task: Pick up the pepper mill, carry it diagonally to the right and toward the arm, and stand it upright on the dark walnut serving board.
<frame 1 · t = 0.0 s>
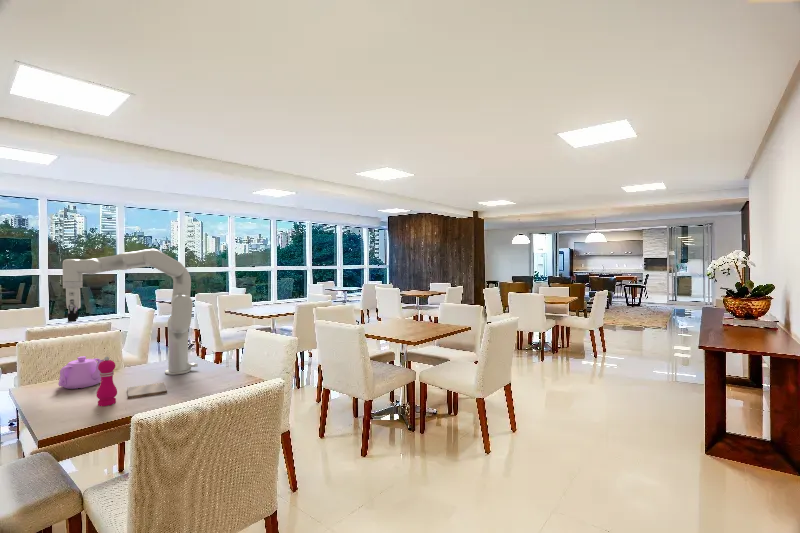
hand: (73, 320, 205), 31 cm above the table, tool pointing down, fingers open, 9 cm apart
pepper mill: (107, 404, 180), on the table
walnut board: (147, 391, 196), on the table
teapot: (85, 386, 205), on the table
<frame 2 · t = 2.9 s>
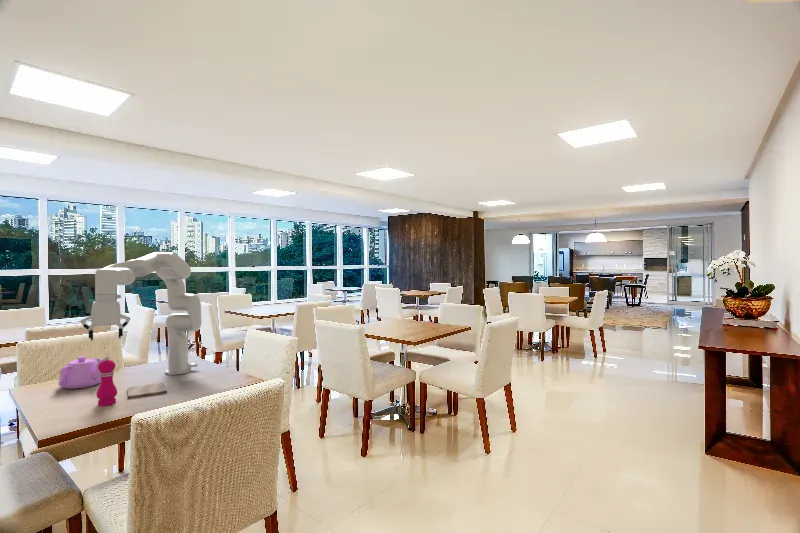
hand: (106, 338, 179), 28 cm above the table, tool pointing down, fingers open, 9 cm apart
nothing on the table moved.
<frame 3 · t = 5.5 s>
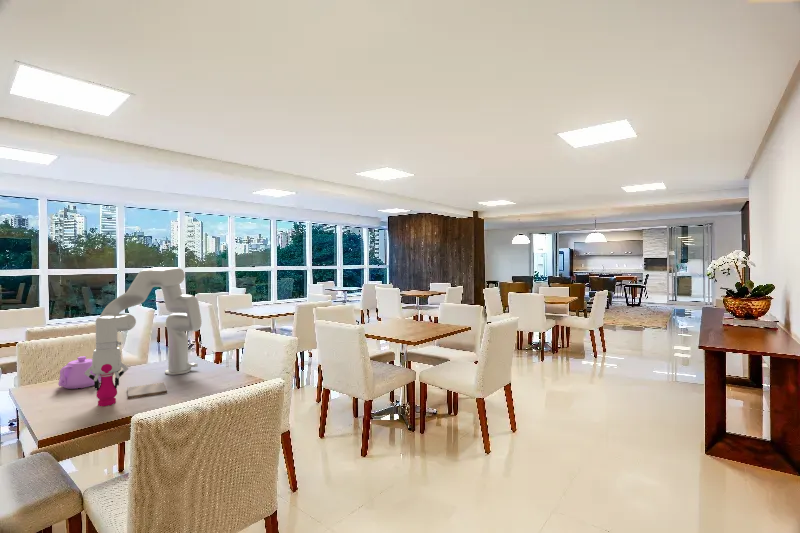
hand: (106, 388, 180), 7 cm above the table, tool pointing down, fingers closed on pepper mill, 5 cm apart
pepper mill: (107, 404, 180), on the table, touching gripper
everything else where it was.
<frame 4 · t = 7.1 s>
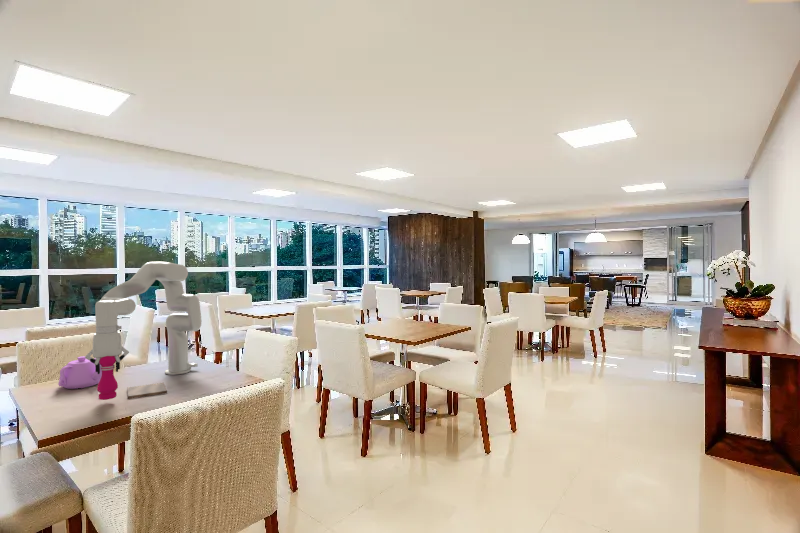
hand: (107, 371, 180), 13 cm above the table, tool pointing down, fingers closed on pepper mill, 5 cm apart
pepper mill: (107, 398, 180), point 2 cm above the table, touching gripper
everything else where it was.
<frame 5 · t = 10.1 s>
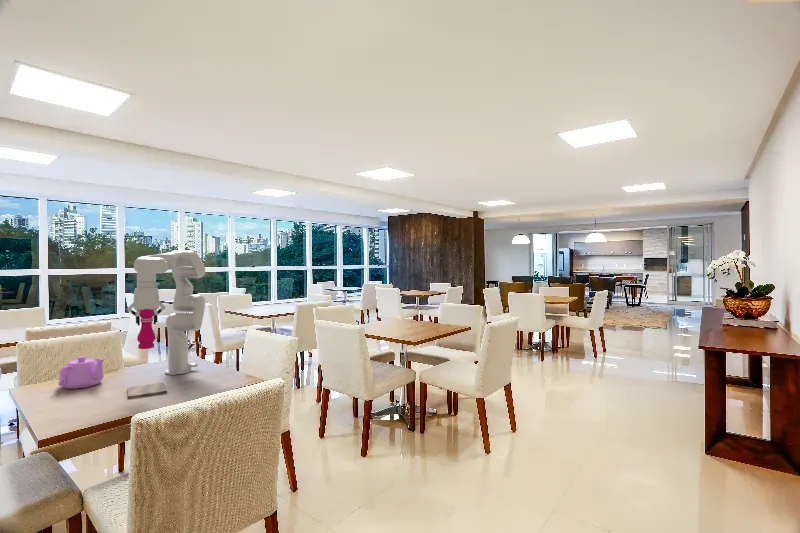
hand: (146, 324, 196), 31 cm above the table, tool pointing down, fingers closed on pepper mill, 5 cm apart
pepper mill: (146, 348, 195), point 20 cm above the table, touching gripper
everything else where it was.
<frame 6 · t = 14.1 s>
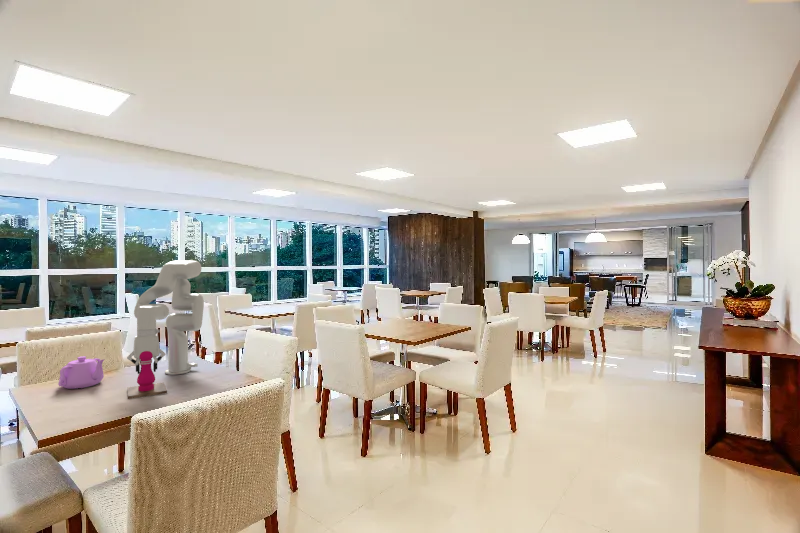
hand: (146, 371, 196), 9 cm above the table, tool pointing down, fingers open, 5 cm apart
pepper mill: (146, 389, 196), point 1 cm above the table, touching gripper, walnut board
everything else where it was.
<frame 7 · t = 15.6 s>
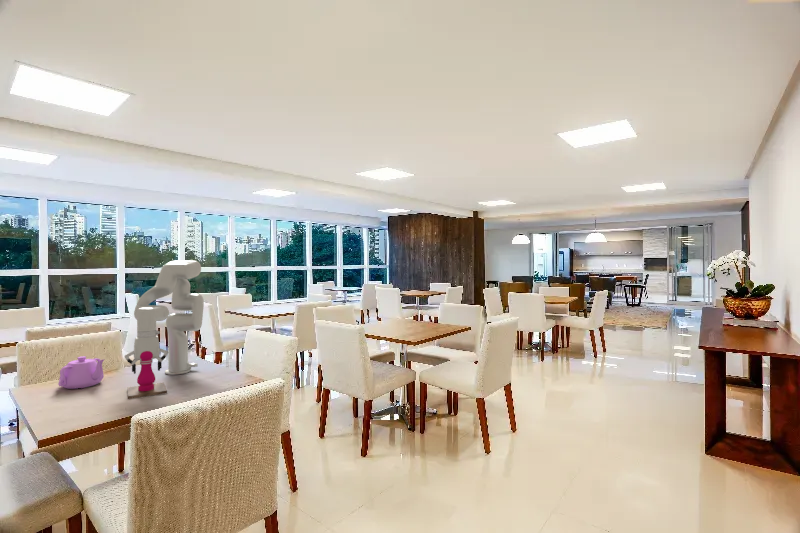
hand: (146, 371, 196), 9 cm above the table, tool pointing down, fingers open, 9 cm apart
pepper mill: (146, 389, 196), point 1 cm above the table, touching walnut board
everything else where it was.
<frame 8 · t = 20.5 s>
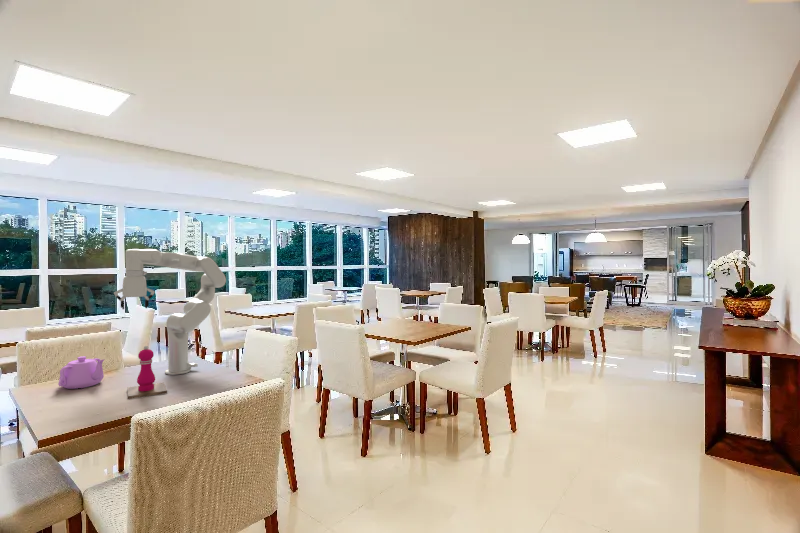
hand: (134, 308, 212), 36 cm above the table, tool pointing down, fingers open, 9 cm apart
nothing on the table moved.
at the end: pepper mill inside the target area on the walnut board (0.7 cm from its centre), point 1.0 cm above the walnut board's base; pepper mill tilted 0°; the gripper is holding nothing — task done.
